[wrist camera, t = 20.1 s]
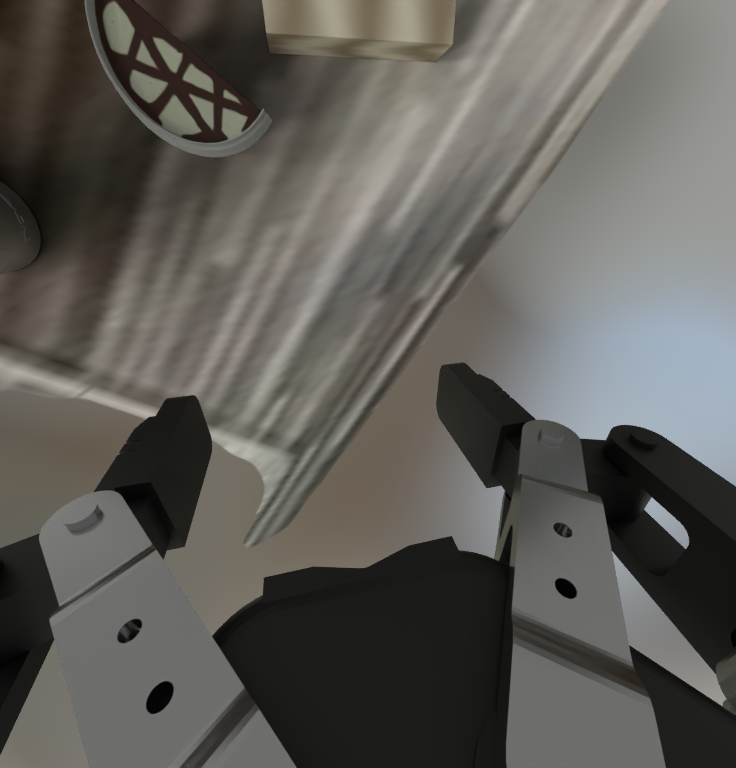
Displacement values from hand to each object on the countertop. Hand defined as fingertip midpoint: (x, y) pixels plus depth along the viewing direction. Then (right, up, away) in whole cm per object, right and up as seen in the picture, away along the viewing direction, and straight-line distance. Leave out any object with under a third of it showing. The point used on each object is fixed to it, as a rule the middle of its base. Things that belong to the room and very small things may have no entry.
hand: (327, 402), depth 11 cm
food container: (-14, +26, +20) cm, 36 cm away
